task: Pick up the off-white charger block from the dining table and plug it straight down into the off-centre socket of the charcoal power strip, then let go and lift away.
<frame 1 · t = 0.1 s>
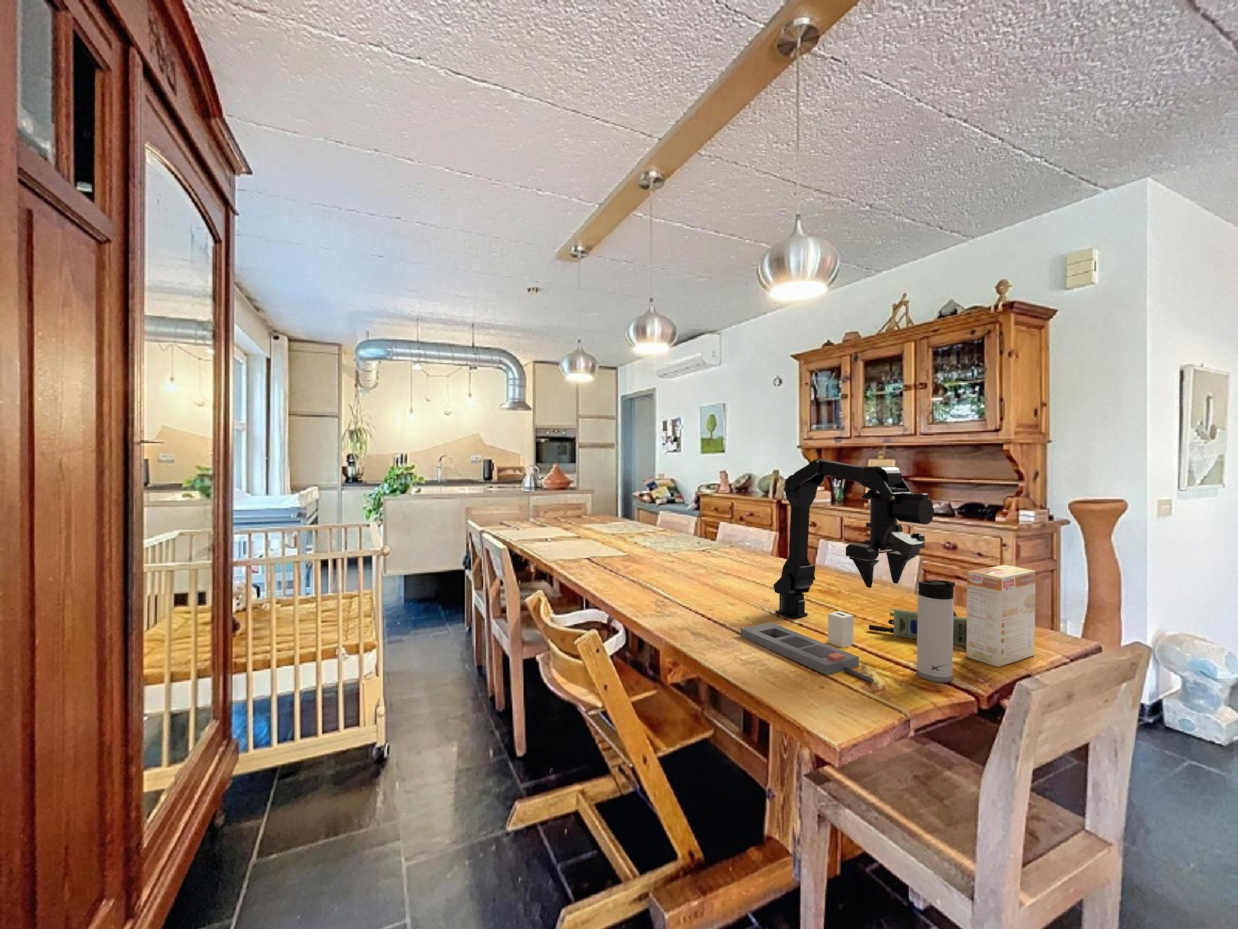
hand: (882, 585, 124), 15 cm above the table, fingers open, 9 cm apart
coffeecake box: (1000, 657, 118), on the table
charger block: (840, 643, 126), on the table
artificial flower: (962, 628, 139), on the table
travel mug: (935, 677, 107), on the table
power strip: (795, 650, 122), on the table
handheld radio: (924, 641, 129), on the table
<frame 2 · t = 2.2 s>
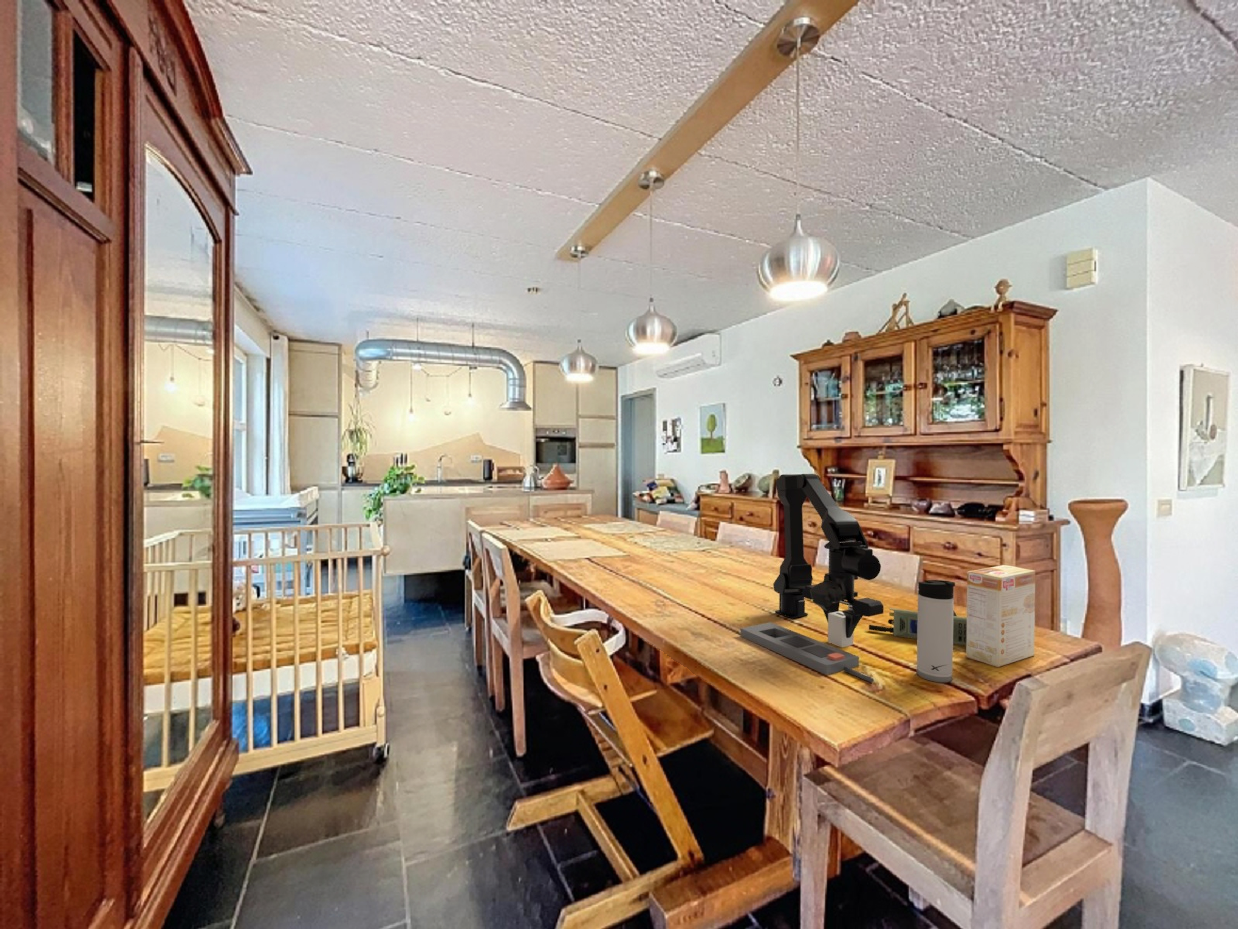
hand: (840, 634, 126), 2 cm above the table, fingers closed on charger block, 4 cm apart
charger block: (840, 643, 126), on the table, touching gripper
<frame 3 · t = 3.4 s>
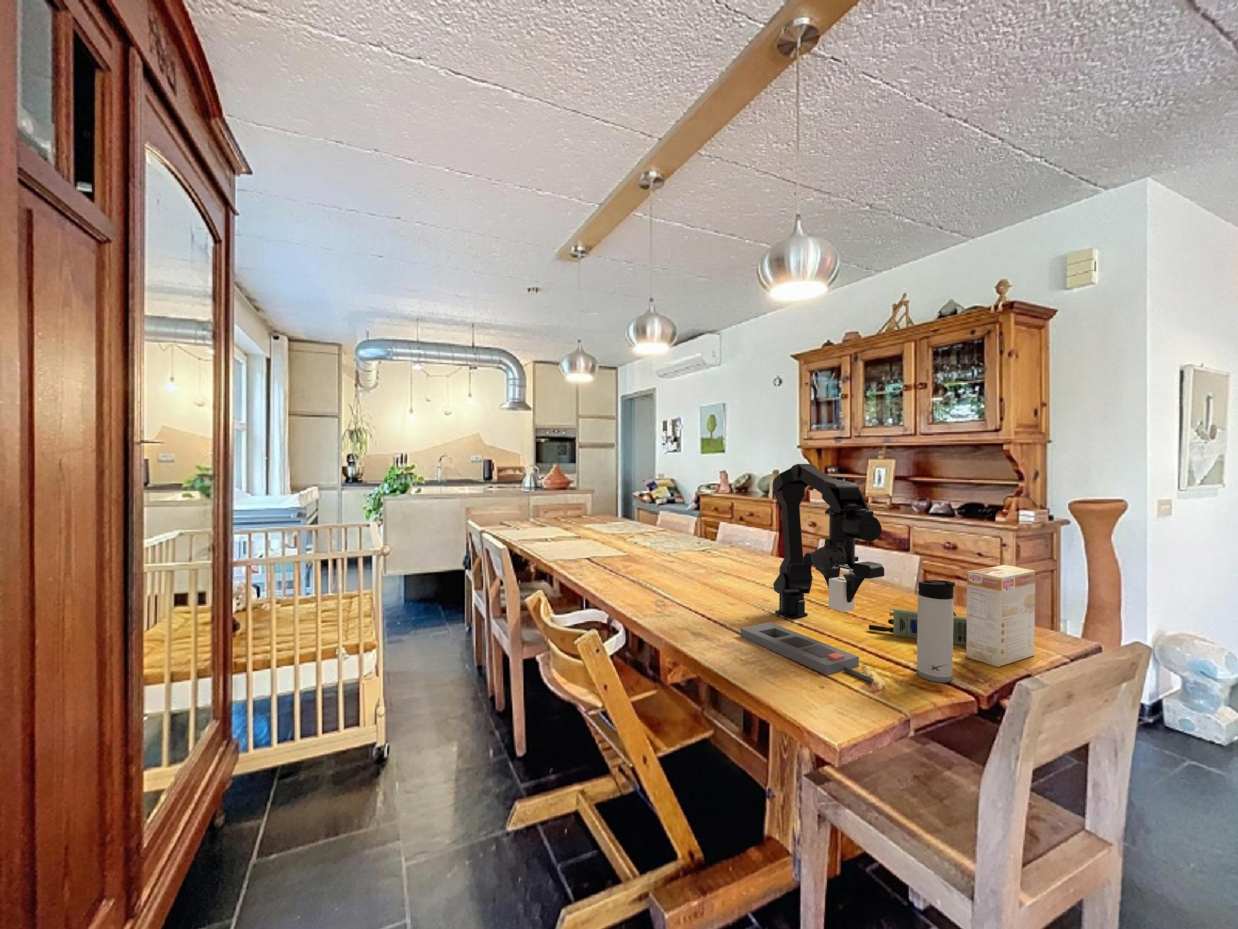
hand: (841, 600, 126), 10 cm above the table, fingers closed on charger block, 4 cm apart
charger block: (841, 608, 126), point 8 cm above the table, touching gripper
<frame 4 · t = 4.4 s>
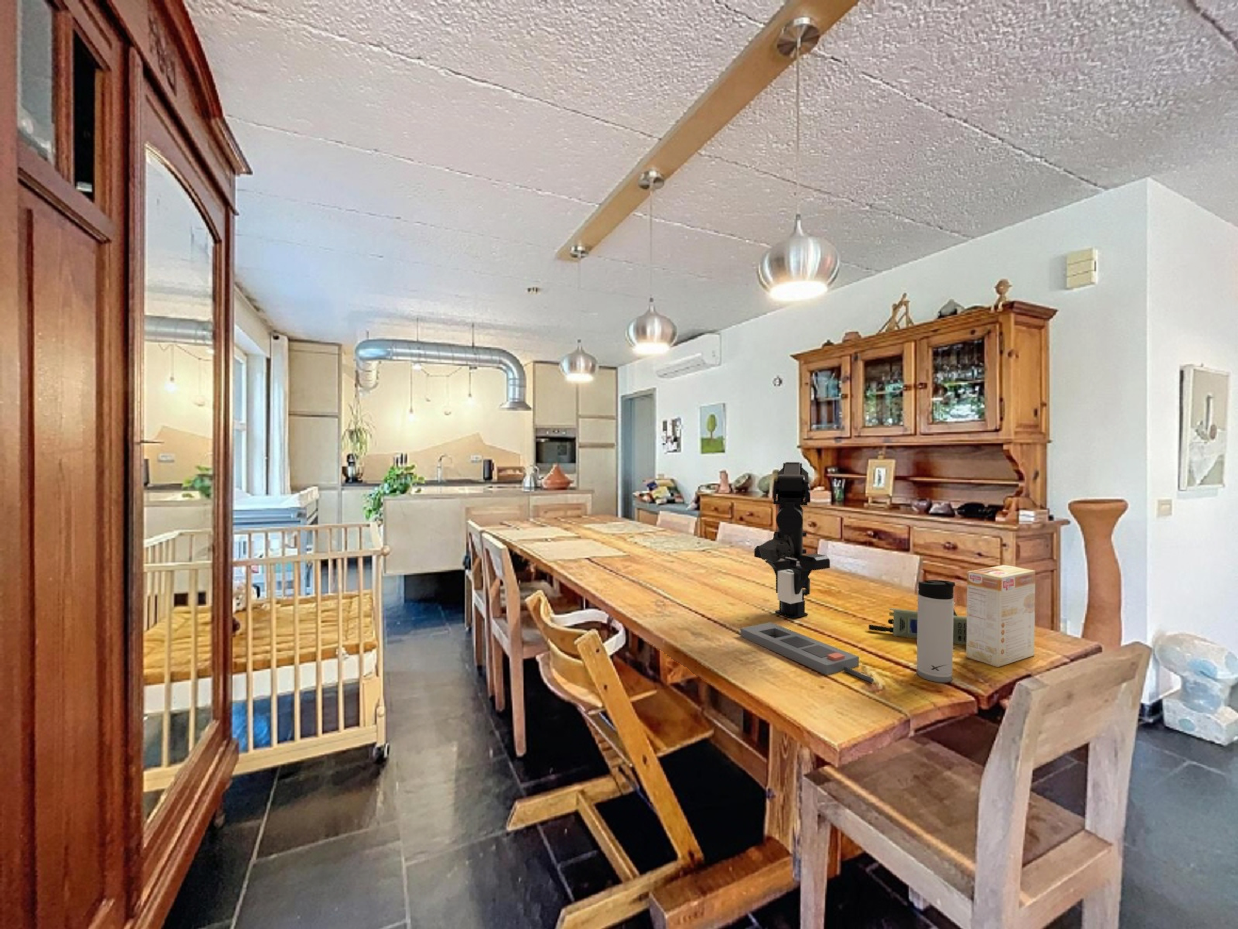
hand: (789, 592, 127), 12 cm above the table, fingers closed on charger block, 4 cm apart
charger block: (789, 600, 127), point 10 cm above the table, touching gripper
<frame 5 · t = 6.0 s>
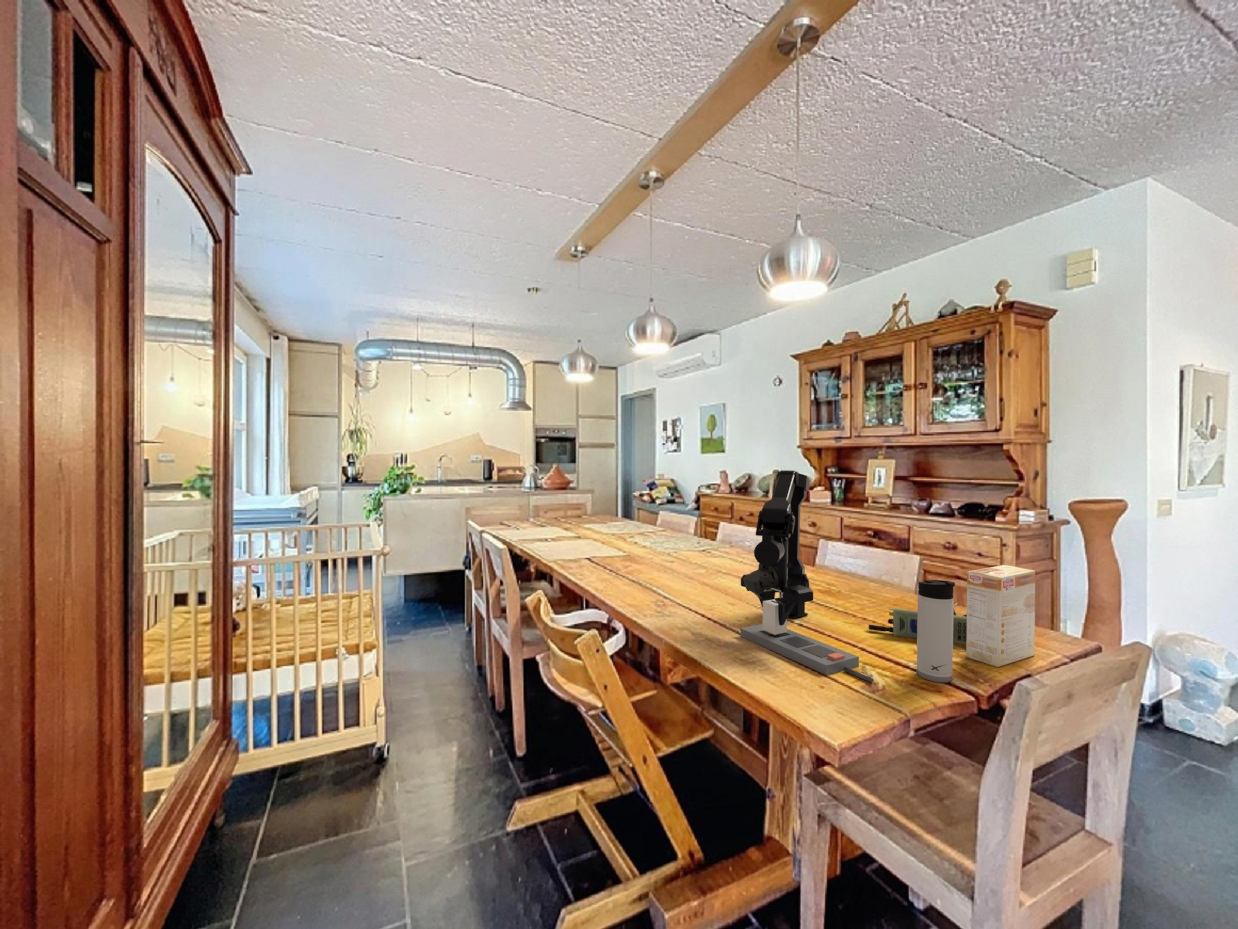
hand: (774, 622, 127), 5 cm above the table, fingers closed on charger block, 4 cm apart
charger block: (774, 631, 127), point 2 cm above the table, touching gripper
when the fingers open (3 cm above the table, at t = 6.6 s): charger block stays where it is, resting on power strip.
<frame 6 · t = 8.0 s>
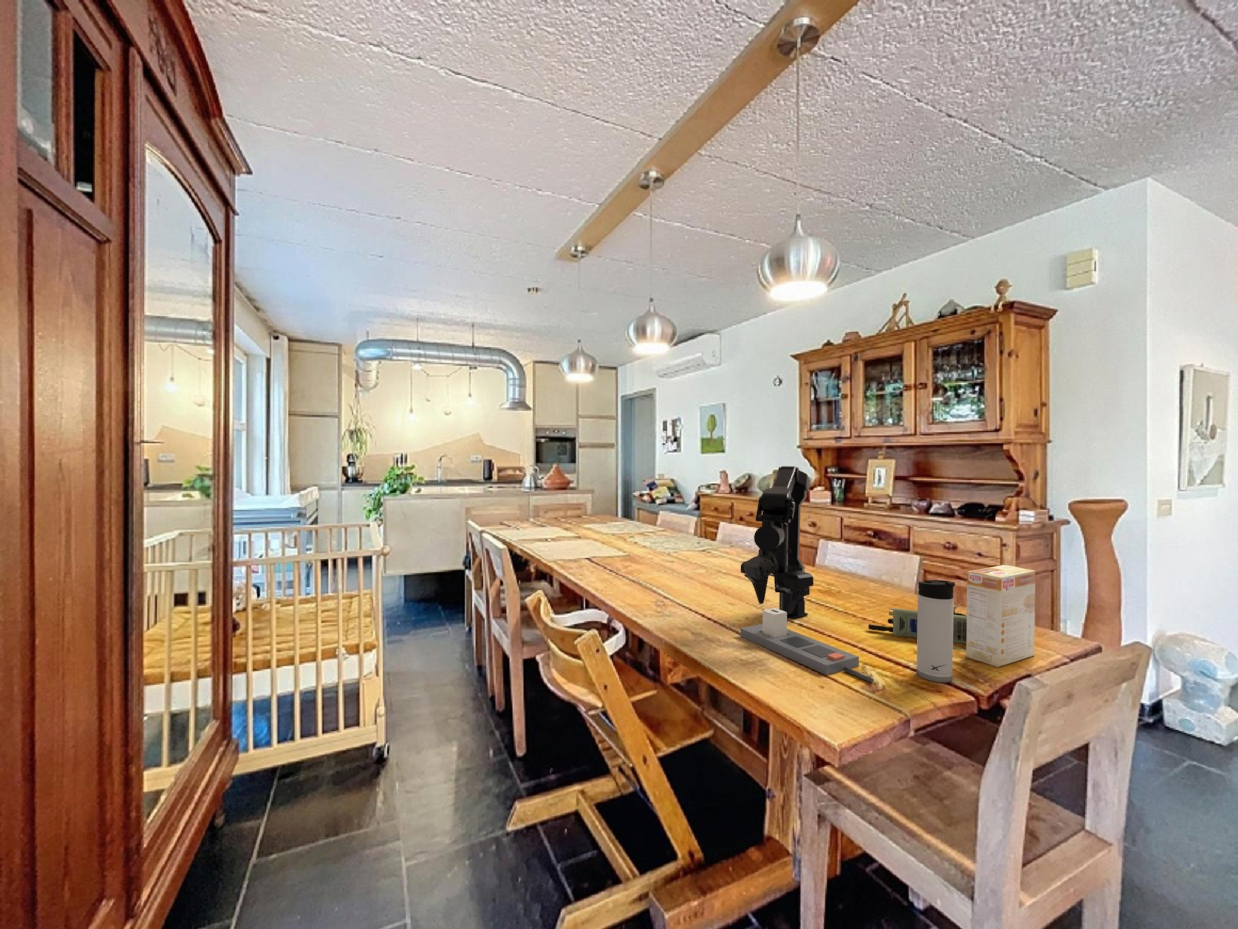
hand: (774, 608, 127), 8 cm above the table, fingers open, 9 cm apart
charger block: (774, 639, 127), resting on power strip
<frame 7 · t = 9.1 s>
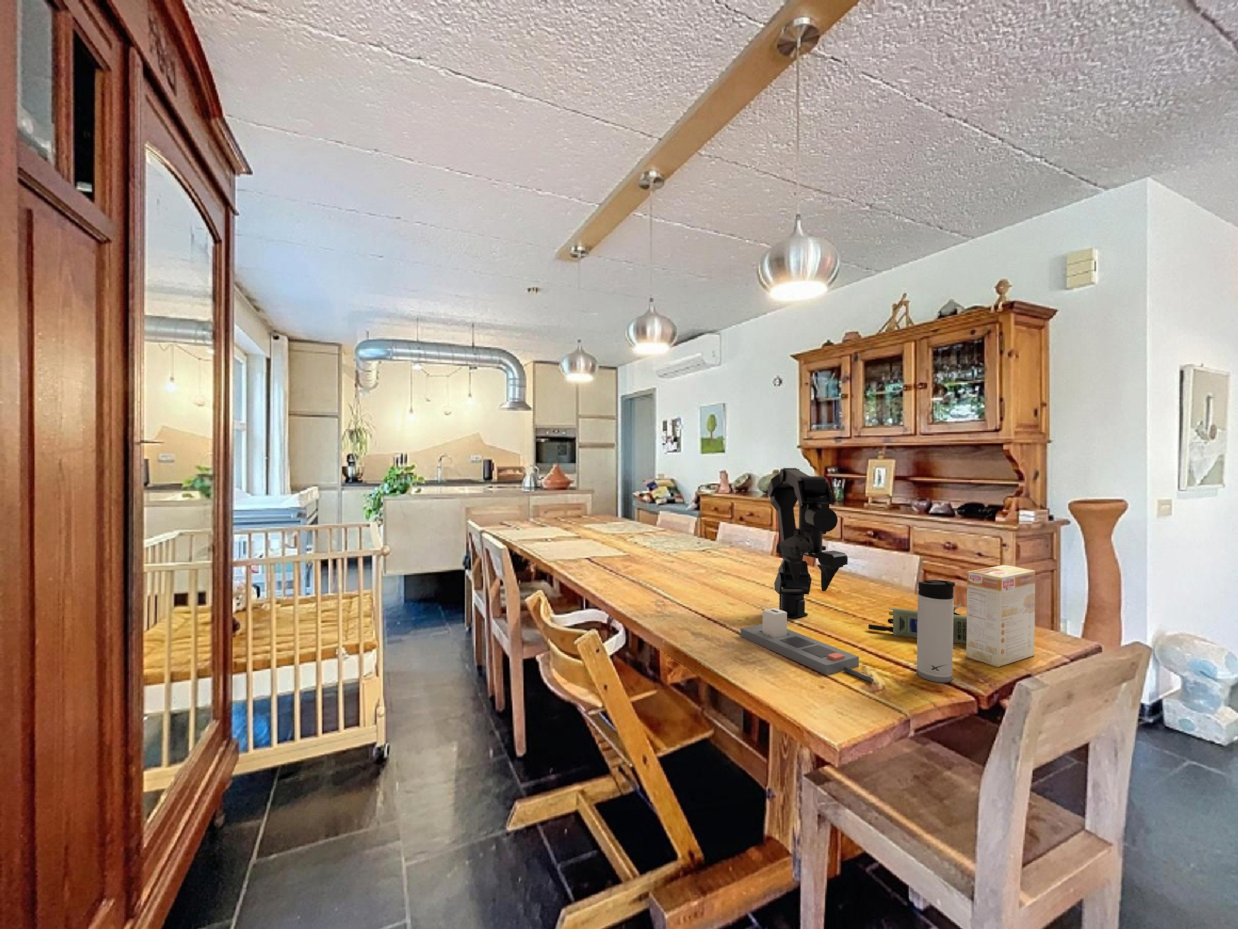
hand: (809, 586, 134), 12 cm above the table, fingers open, 9 cm apart
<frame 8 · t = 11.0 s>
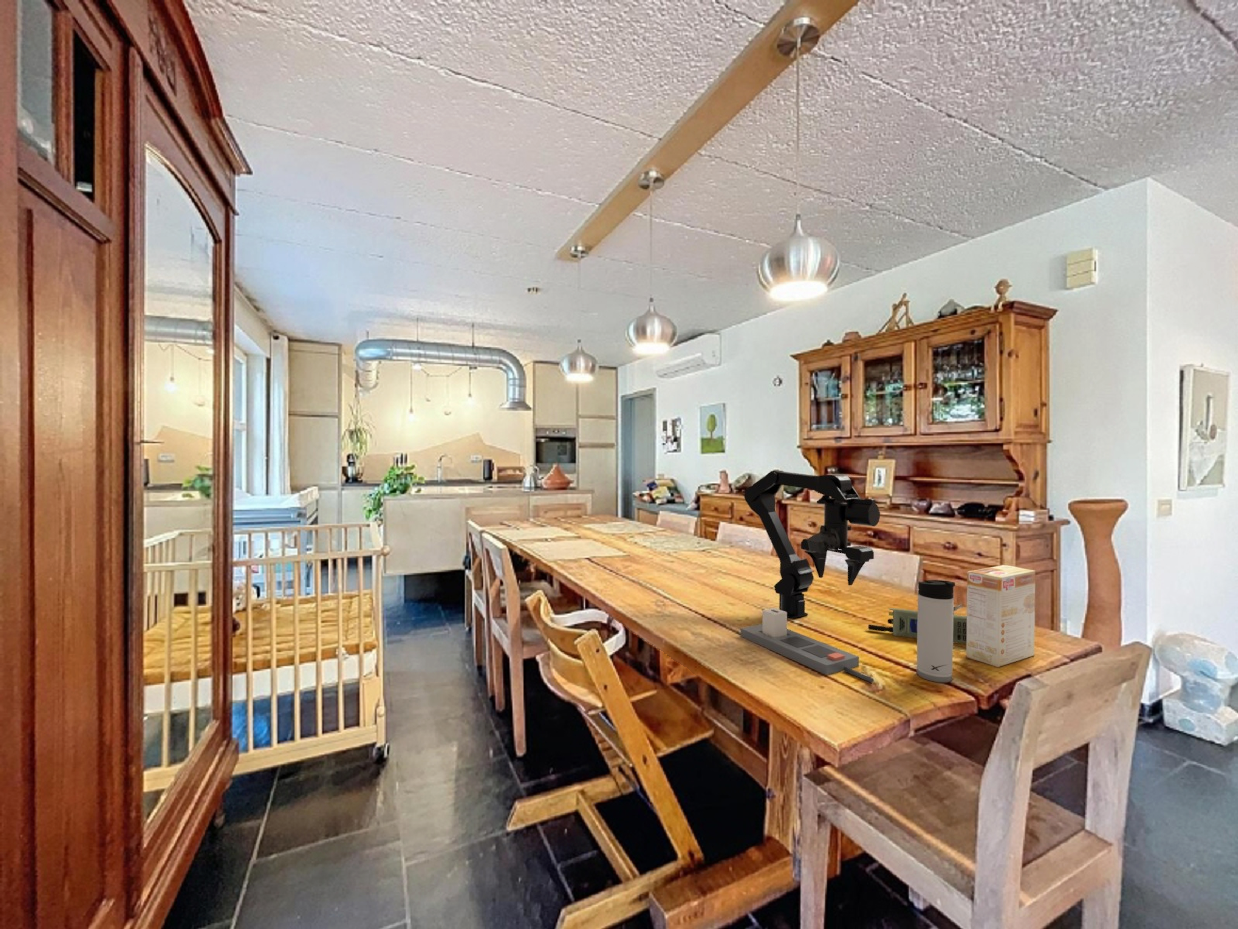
hand: (835, 581, 138), 12 cm above the table, fingers open, 9 cm apart
at the end: charger block 0.0 cm from the target spot on the power strip, point 0.3 cm above the power strip's base; charger block tilted 0°; the gripper is holding nothing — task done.
